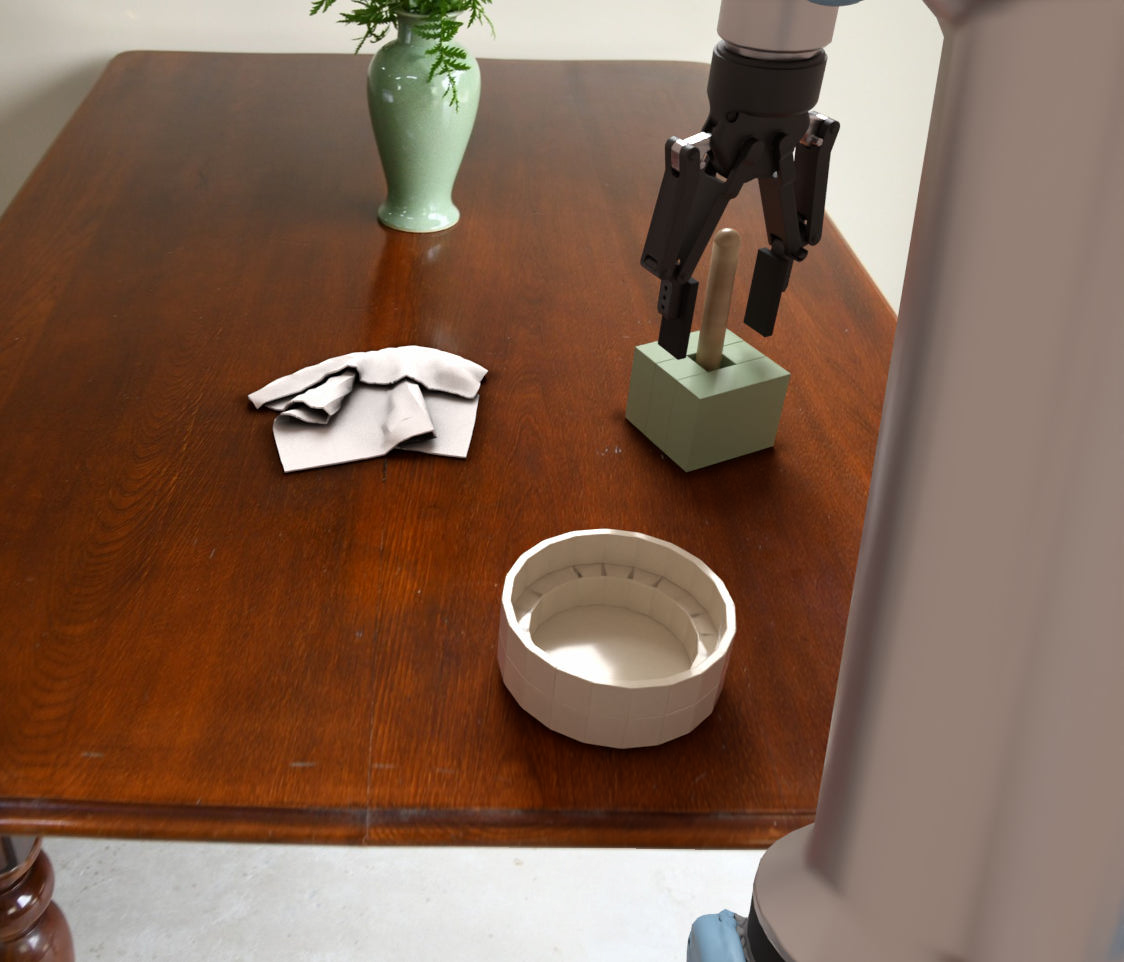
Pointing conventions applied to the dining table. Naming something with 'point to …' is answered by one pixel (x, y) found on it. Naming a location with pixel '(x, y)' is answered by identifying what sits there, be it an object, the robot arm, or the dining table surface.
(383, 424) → the cloth
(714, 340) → the stick
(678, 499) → the dining table surface
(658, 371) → the stand
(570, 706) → the bowl
